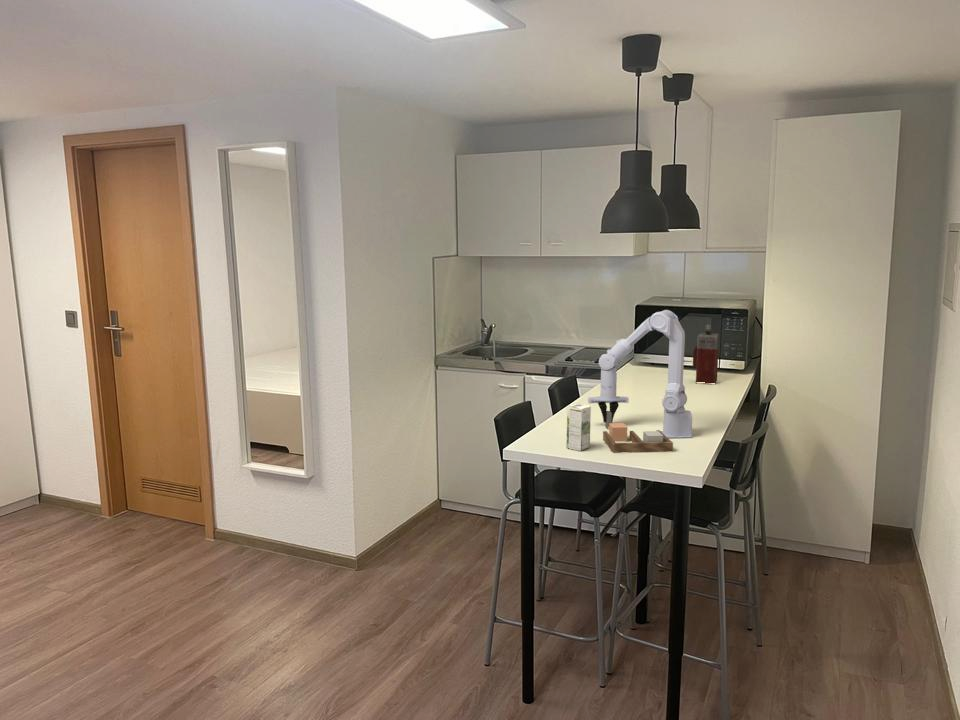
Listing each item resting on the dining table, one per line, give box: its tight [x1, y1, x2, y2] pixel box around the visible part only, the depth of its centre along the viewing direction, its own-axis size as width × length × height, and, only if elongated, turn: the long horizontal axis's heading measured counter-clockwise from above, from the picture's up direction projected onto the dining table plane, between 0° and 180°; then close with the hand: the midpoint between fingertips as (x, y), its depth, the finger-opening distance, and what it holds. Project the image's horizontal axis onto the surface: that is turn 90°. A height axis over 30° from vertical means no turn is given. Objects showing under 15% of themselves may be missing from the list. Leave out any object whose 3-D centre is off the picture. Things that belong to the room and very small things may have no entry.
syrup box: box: [566, 403, 592, 452], centre depth 241 cm, size 6×6×14 cm
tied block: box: [605, 410, 628, 442], centre depth 260 cm, size 5×20×6 cm, turn 2°
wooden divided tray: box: [602, 429, 674, 453], centre depth 245 cm, size 20×16×3 cm
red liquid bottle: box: [692, 324, 720, 384], centre depth 351 cm, size 9×11×28 cm
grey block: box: [642, 430, 663, 442], centre depth 242 cm, size 5×6×5 cm
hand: (607, 422), depth 269 cm, fingers closed on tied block
